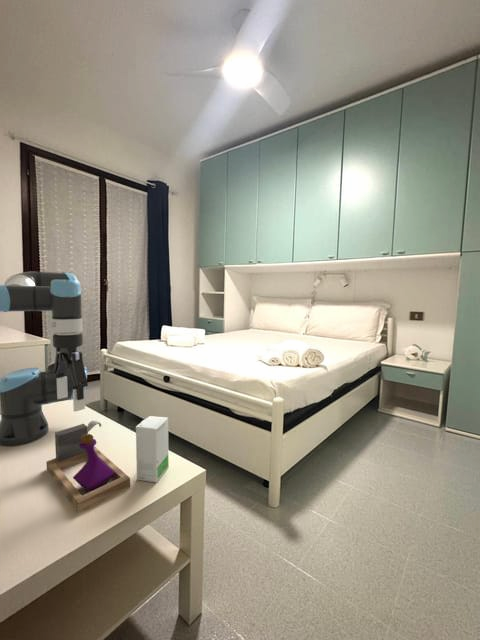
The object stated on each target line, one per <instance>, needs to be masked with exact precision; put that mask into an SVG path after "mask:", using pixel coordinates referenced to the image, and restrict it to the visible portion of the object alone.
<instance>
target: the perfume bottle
mask: <svg viewBox="0 0 480 640" xmlns="http://www.w3.org/2000/svg"><path fill="white" fill-rule="evenodd" d="M97 425H98V426H99V427H100V428H101V427H102V424H101V422H100V421H97V420H91V421H89V422H88V425H86V426H87V434H85V435H82V436H81V440H82V441H81V442H80V444H79V446H80V448H83V449H85V450H86V452H87V455H88V459H87V460H86V463H85V464H84V465H83V466H82V467H81V469H79V471H78V472H76V473H75V474H74V476H73V477H72V478H73V480H74V481H76V483H78V485H79V486H81V487H82V488H83V489H84V490H85V491H86V492H88V493H89V492H91V491H93V490H95V489H97V488H100V487H102V486H104V485H106V484H108V483H110V481H111V479H113V477H112V476H113V475H114V474H115V472H114V471H113V470H112V469H111V468H110V467H108V466H107V465H106V464H105V463H104V462H103V461H102V460H101V459H100V458H99V456H98V455H97V453H96V452H95V450H94V447H95V446H96V445H97V440H96V439H94V436H93V435H92V434H91V433H89V432H90V431H91V430H92V429H93V428H95V426H97Z"/></svg>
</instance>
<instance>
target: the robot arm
mask: <svg viewBox="0 0 480 640" xmlns="http://www.w3.org/2000/svg"><path fill="white" fill-rule="evenodd" d="M81 285H82V284H81V282H80V281H79V280H78V278H77V276H76V275H75V274H73V273H71V272H69V273H68V272H63V271H62V272H51V271H50V272H49V271H33V270H32V271H24V272H19V273H16V274H13V275H11V276H9V277H8V278H7V279H6V280H5V282H4V284H0V312H2V313H7V312H48V318H49V321H48V322H49V335H50V338H49V339H50V356H51V357H50V358H51V362H50V363H49V364H48V365H47V367H46V368H47V369H46V370H47V371H41V369H40V368H39V367H28V368H22V369H17V370H14V371H11V372H9V373H6V374H4V375H3V376H2V377H1V378H0V416H1V417H0V418H1V419H0V446H5V447H6V446H7V447H10V446H11V447H12V446H13V447H14V446H18V445H19V446H20V445H24V444H28V443H32V442H35V441H37V440H39V439H41V438H42V437H44V436H46V435H47V433H49V422H48V420H47V418H46V416H45V414H44V412H43V409H42V408H43V406H42V405H46V404H52V403H58V402H59V403H60V402H64V401H65V402H66V401H72V400H73V401H72V403H73V404H72V405H73V412H79V411H83V410H85V409H86V404H85V399H86V397H85V393H86V389H87V387H88V386H89V383H88V368H87V367H86V366H84V362H83V353H82V351H79V352H78V349H77V348H78V347H82V346H83V342H84V341H83V340H84V339H83V337H84V336H83V333H82V332H83V329H84V328H83V315H82V287H81Z"/></svg>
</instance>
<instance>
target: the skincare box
mask: <svg viewBox="0 0 480 640" xmlns="http://www.w3.org/2000/svg"><path fill="white" fill-rule="evenodd" d="M135 445H136V446H135V447H136V448H135V450H136V452H135V453H136V480H137V481H142V482H149V483H158V482H159V480H160V479H161V478H162V477H163V475H164V474H165V472H166V471H167V470H168V469H169V464H170V463H169V461H170V460H169V459H170V457H169V417H165V416H153V415H149V416H147V417H146V418H145V419H143V420H141V422H140V423H139V424H137V425H136V426H135Z"/></svg>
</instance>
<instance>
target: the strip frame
mask: <svg viewBox="0 0 480 640" xmlns="http://www.w3.org/2000/svg"><path fill="white" fill-rule="evenodd" d="M87 426H88V425H86V424H85V423H81V424H78V425H75V426H74V425H73V426H71V427H68V428H65V429H61V430H58V431H55V432H54V441H55V442H54V443H55V458H52V459H49V460H47V461H45V462H46V470H47V472H48V473H49V475H50V477H52V479H53V481H55V483H56V484H57V486H58V487H59V488H60V489H61V491H62V492H63V493H64V495H65V497H66V499H68V501H69V502H70V503H71V504H72V506H73V507H74V509H75V511H77V512H78V513H82V512H83V511H85V510H87V509H89V508H91V507H93V506H95V505H97V504H99V503H101V502H104V501H105V500H107V499H109V498H111V497H113V496H115V495H118V494H119V493H121V492H123V491H125V490H127V489H129V488H131V478H130V477H129V475H128V474H126V473H125V472H124V471H123V470H122V469H121V468H119V467H118V465H116V464H115V463H114V462H113V461H112V460H110V459H109V458H108V457H107V456H106V455H105V454H103V452H101V451H100V450H99V449H98V448H97V447H96V446H94V450H95V452H96V453H97V455H98V456H99V458H100V459H101V460H102V461H103V462H104V463H105V464H106V465H107V466H108V467H110V468H111V469H112V470H113V471H114V472H115V474H114V475H113V476H112V479H113V481H109V482H108V483H107V484H106V485H104V486H102V487H100V488H97V489H95V490H93V491H91V492H89V491H88V492H87V493H84V494H83V495H82V494H81V493H80V492H79V490H78V489H77V488H76V487H75V486H74V484H73V483H72V482H71V481H70V479H69V477H67V476H66V474H65V473H64V472H63V469H67V468H69V467H71V466H73V465H75V464H78V463H81V462H84V461H87V460H88V455H87V452H86V450H85V449H83V448H80V446H79V444H80V442H81V441H82V440H81V436H82V435H85V434H87Z"/></svg>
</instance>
